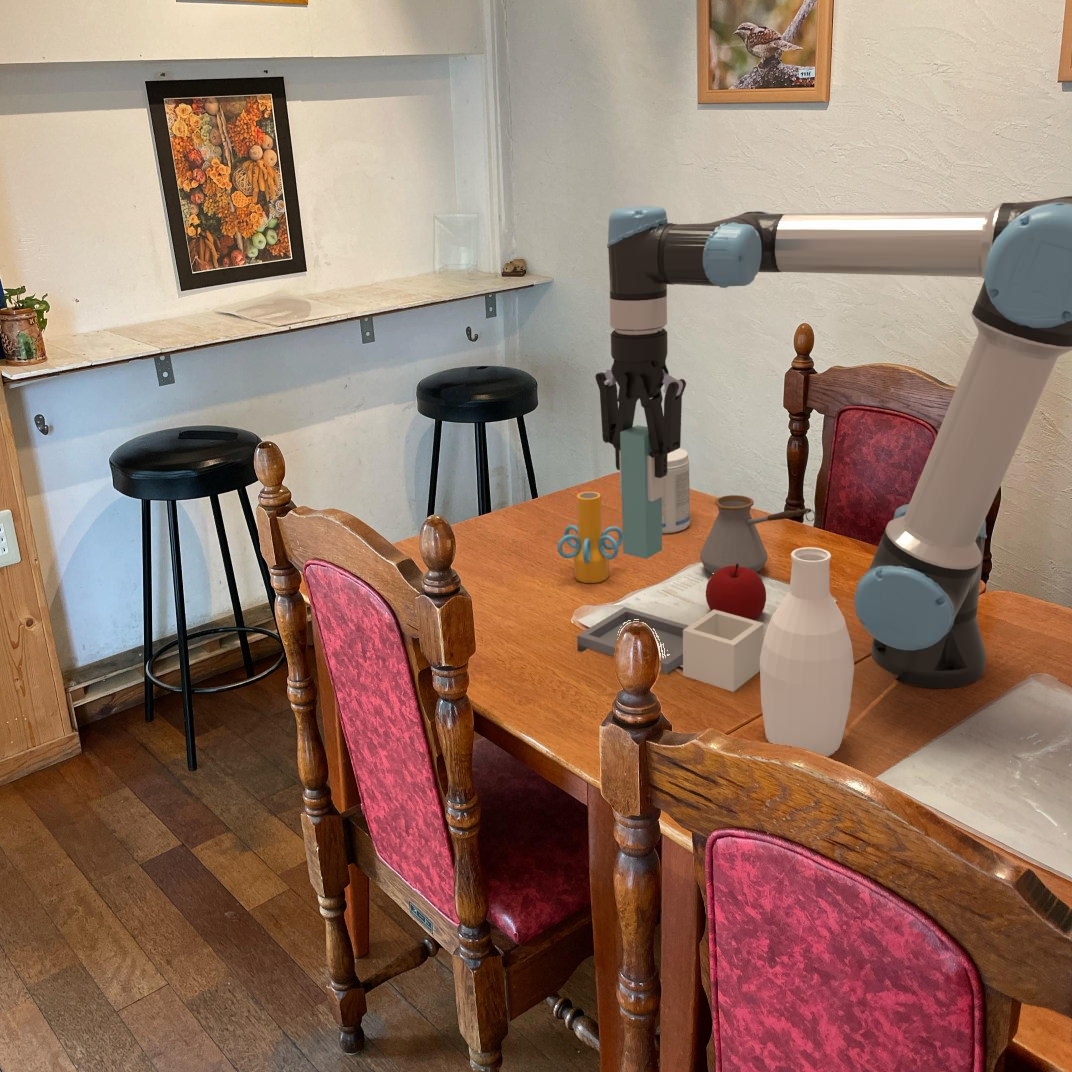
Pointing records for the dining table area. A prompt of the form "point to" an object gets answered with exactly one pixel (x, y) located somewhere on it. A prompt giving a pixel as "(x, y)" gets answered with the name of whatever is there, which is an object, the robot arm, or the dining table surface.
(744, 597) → the apple
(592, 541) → the yellow ringed vase
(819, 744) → the bottle
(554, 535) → the dining table surface
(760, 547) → the coffee pot
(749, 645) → the white open box
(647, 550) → the peg
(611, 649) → the tray
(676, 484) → the supplement tub
